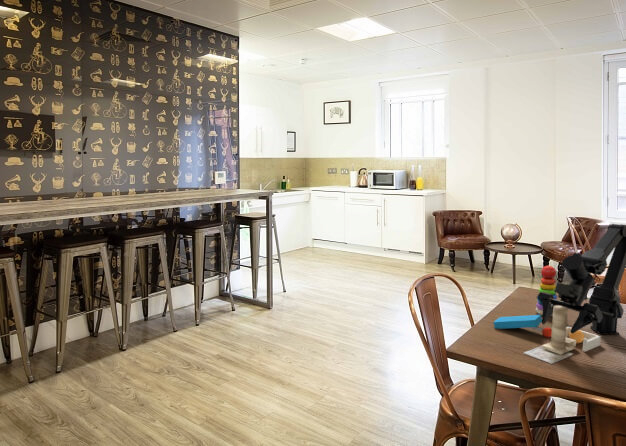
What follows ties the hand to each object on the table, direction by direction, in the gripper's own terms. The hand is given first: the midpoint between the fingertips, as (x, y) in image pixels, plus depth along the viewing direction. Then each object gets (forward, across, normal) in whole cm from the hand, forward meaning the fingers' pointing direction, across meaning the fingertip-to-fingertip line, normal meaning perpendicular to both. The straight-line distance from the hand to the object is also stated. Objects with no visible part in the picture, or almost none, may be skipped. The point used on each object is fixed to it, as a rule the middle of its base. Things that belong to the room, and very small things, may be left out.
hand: (556, 328), depth 150 cm
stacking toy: (-17, -22, +28) cm, 40 cm away
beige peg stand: (+3, 0, +7) cm, 7 cm away
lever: (0, -16, +11) cm, 20 cm away
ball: (-5, 0, +13) cm, 14 cm away
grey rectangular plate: (+9, 0, +2) cm, 9 cm away
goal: (-3, 0, +14) cm, 14 cm away
